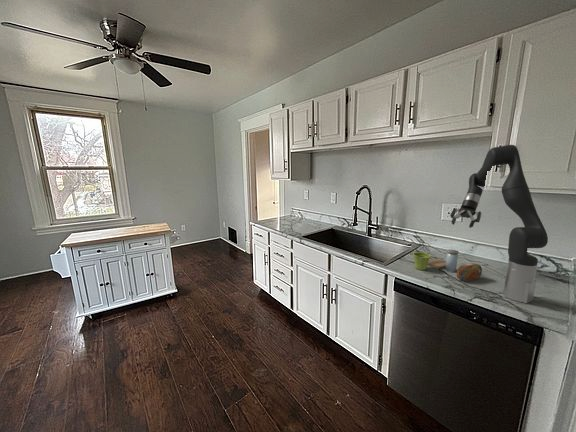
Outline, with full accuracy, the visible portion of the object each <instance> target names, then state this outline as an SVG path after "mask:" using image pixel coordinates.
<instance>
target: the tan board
mask: <svg viewBox="0 0 576 432" xmlns="http://www.w3.org/2000/svg"><path fill="white" fill-rule="evenodd" d="M427 266H429V267H432V268H435V269H438V270H442V269H445V268H446V260H442V259H439V258H432V259H429V261H428V265H427Z"/></svg>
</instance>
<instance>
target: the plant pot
mask: <svg viewBox="0 0 576 432" xmlns="http://www.w3.org/2000/svg"><path fill="white" fill-rule="evenodd" d="M412 255H413V260H414V268H415V269H417V270H420V271H425V270H427V268H428V266H429V265H428V261H429V260H430V259H431V257H432V256H431V255H430V254H429V253H426V252H421V251H420V252H419V251H415V252H413V253H412Z"/></svg>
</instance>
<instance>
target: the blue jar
mask: <svg viewBox="0 0 576 432" xmlns="http://www.w3.org/2000/svg"><path fill="white" fill-rule="evenodd" d="M459 254H460V253H459V250H457V249H456V250H455V249H450V248H449V249H447V250H446V258H445V259H446V260H445V261H446V267H445V268H444V269H445V271H446V272H449V273H457V266H458V265H457V264H458V258H459Z"/></svg>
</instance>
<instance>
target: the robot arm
mask: <svg viewBox="0 0 576 432" xmlns="http://www.w3.org/2000/svg"><path fill="white" fill-rule="evenodd" d="M504 165H505V166H506V165H508V167H509V173H508V175H507V177H506V179H505V181H504V183H503V184H502V186H501V194H502V198H503V201H504V203H505V205H506V206H507V207H508V209H510V210H511V211H512V212H514V214H515V215H517V216H518V217H519V218H520V220H521V221H522V224H523V225H524V226H517V227H514V228H513V229H512V230H510V233H509V236H508V247H507V249H508V250H507V254H508V260H507V268H506V274H505V280H504V281H505V282H504V286H503V287H504V288H503V294H502V295H503V296H504V297H505V298H507V299H510V300H512V301H515V302H520V303H524V304H528V303H531V302H533V300H534V295H535V291H536V284H537V280H535V278H536V274H537V269H538V262H539V259H538V258H537V257H536V256H534V255H532V254H528V249H542V248H545V247H546V246H547V244H548V242H549V241H548V240H549V238H548V234H547V230H546V229H545V226H544V225H543V223H542V220H541V219H540V216H539V215H538V212H537V209H536V207H535V204H534V201H533V198H532V194H531V190H530V187H529V185H528V183H527V179H526V178H525V173H524V171H523V166H522V163H521V157H520V152H519V150H518V147H517V146H516V145H515V144H507V145H500V146H495V147H492V148H490V149H489V150H488V151H487V153H486V155H485V157H484V161H483V164H482V165H481V168H480V169H479V170H478V172H477V173H476V172H475V173H473V174H471V175H470V176H469V178H468V189H467V192H466V195H465V197H464V199H463V201H462V203H461V206H460V208H458V209H457V208H456V207H453V208H452V211H451V213H450V215H449V217H450V218H451V224H452V225H453V226H454V225H455V223H456V222H457V219H460V218H466V219H470V220H471V221H470V223H469V226H468V227H469V228H470V229H471V228H473V227H474V226H475V223H480V221H481V219H482V218H481V217H482V212H481V210H479V211H477V208H478V206H479V203H480V200H481V197H482V194H483V191H484V190H483V188H485V187H484V186H485V180H486V175H487V171H490V170H491V168H492V166H495V167H497V166H504ZM475 215H476V218H474V216H475Z"/></svg>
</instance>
